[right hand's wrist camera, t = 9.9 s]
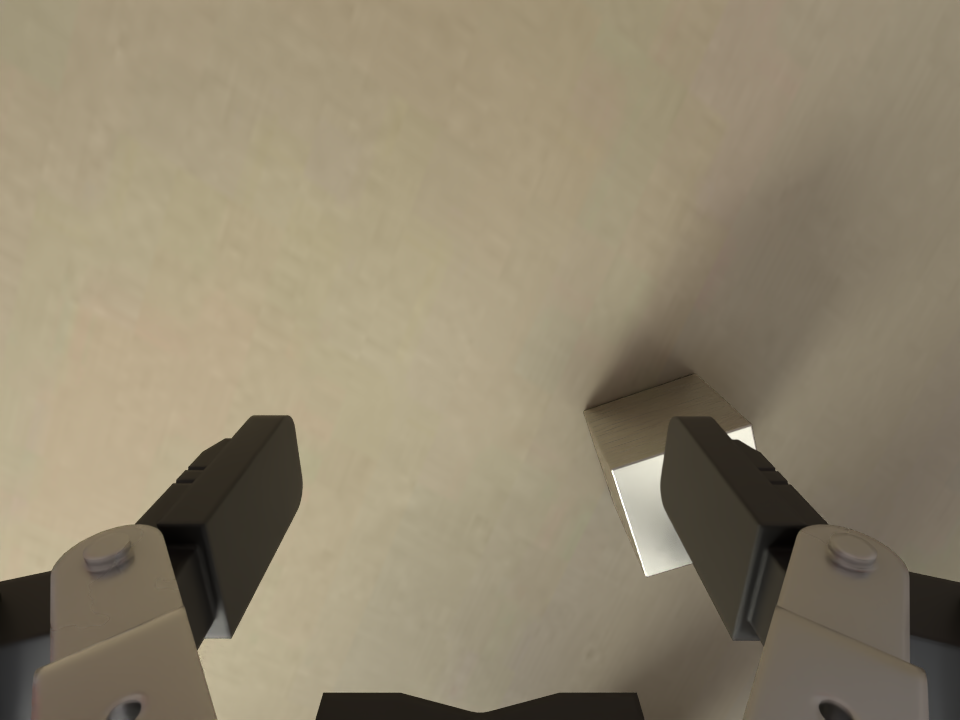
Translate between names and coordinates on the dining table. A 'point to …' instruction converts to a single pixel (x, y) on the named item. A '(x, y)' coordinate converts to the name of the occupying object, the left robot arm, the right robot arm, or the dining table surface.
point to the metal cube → (653, 459)
